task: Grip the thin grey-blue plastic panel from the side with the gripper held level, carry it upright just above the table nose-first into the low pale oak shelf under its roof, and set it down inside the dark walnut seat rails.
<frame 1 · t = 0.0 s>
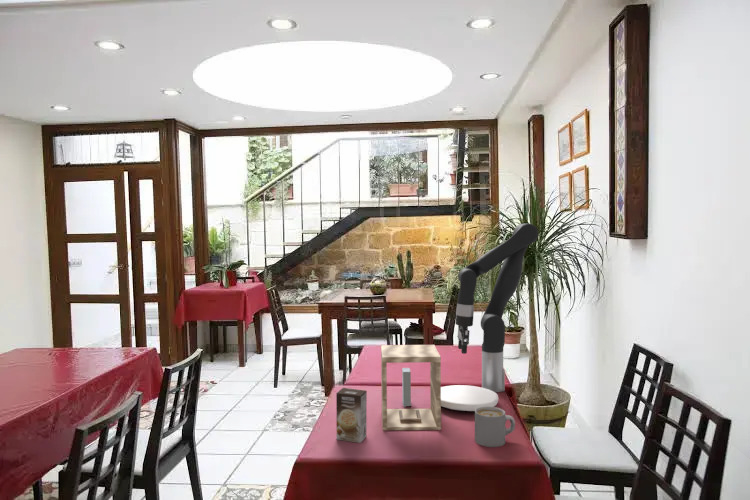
hand: (462, 351, 231), 17 cm above the table, tool pointing down, fingers open, 8 cm apart
shelf: (409, 420, 196), on the table
plate: (464, 405, 213), on the table
panel: (406, 404, 214), on the table
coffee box: (351, 438, 180), on the table
coffee mug: (495, 441, 176), on the table
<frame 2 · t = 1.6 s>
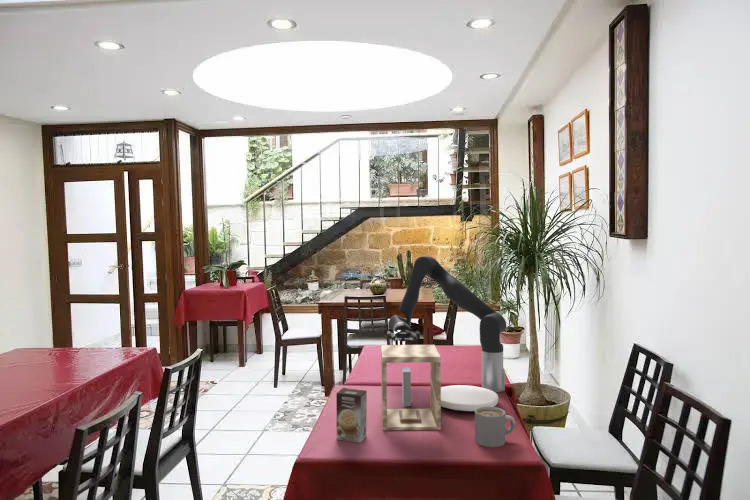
hand: (404, 339, 224), 24 cm above the table, tool horizontal, fingers open, 8 cm apart
nothing on the table moved.
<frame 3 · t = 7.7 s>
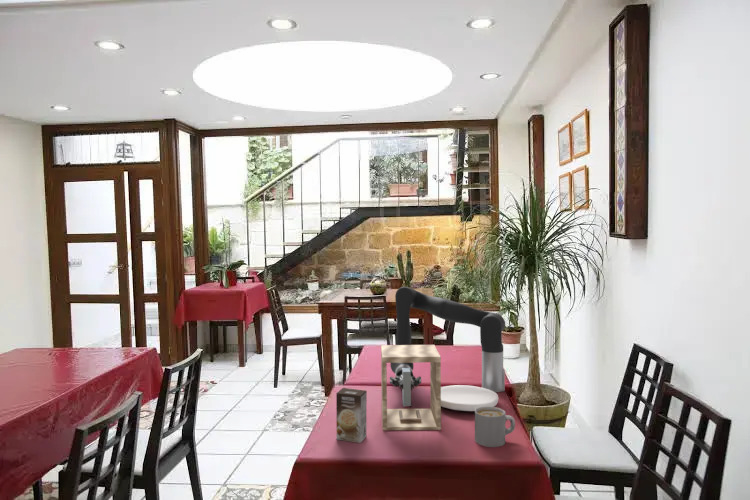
hand: (407, 386, 211), 8 cm above the table, tool horizontal, fingers closed on panel, 3 cm apart
panel: (406, 404, 214), on the table, touching gripper
everything else where it was.
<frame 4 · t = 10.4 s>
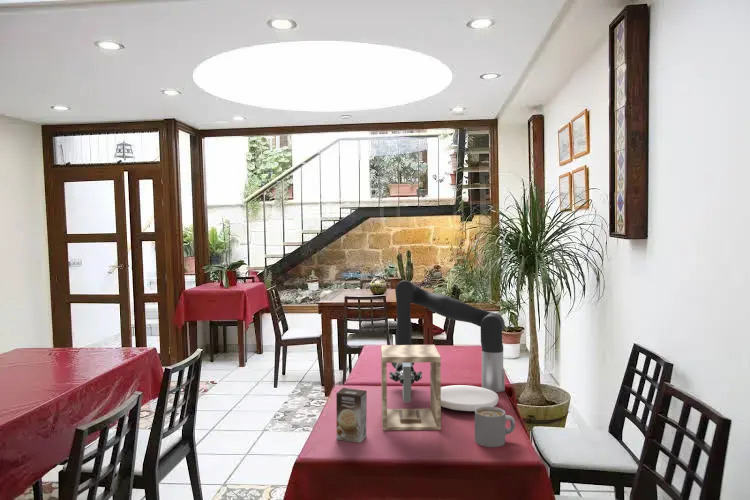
hand: (407, 381, 206), 11 cm above the table, tool horizontal, fingers closed on panel, 3 cm apart
panel: (406, 399, 209), point 3 cm above the table, touching gripper
everything else where it was.
when the fingers open (10 cm above the table, at t = 13.4 s): panel stays where it is, resting on shelf.
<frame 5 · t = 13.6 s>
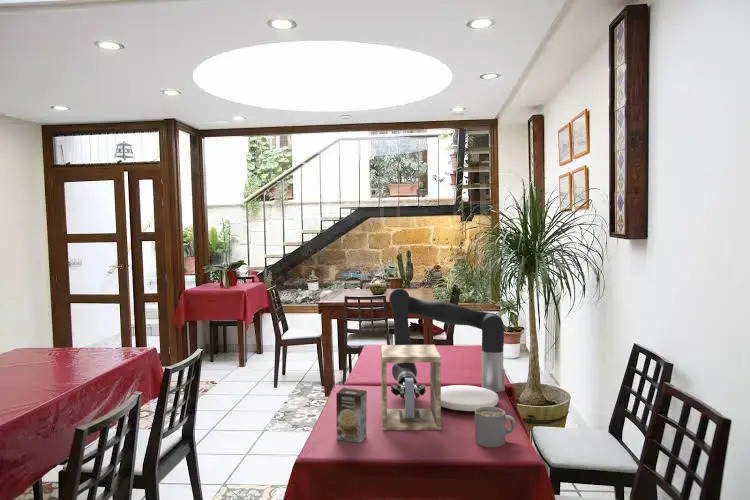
hand: (410, 395, 193), 10 cm above the table, tool horizontal, fingers open, 4 cm apart
panel: (409, 417, 196), point 1 cm above the table, touching shelf
everything else where it was.
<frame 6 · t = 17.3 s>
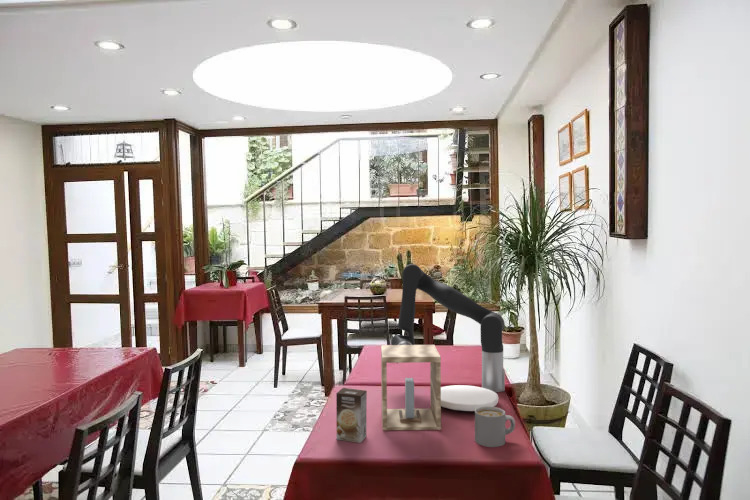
hand: (408, 360, 206), 20 cm above the table, tool horizontal, fingers open, 8 cm apart
nothing on the table moved.
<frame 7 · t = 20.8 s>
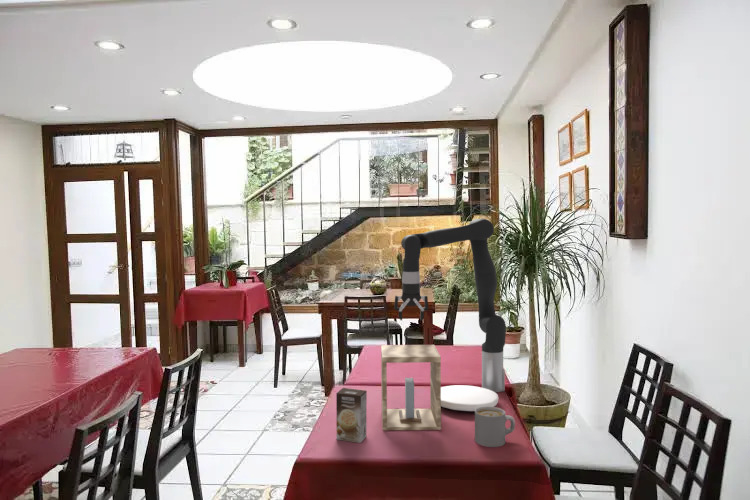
hand: (411, 320, 225), 32 cm above the table, tool pointing down, fingers open, 8 cm apart
nothing on the table moved.
at the end: panel 0.6 cm off-centre on the shelf, point 1.0 cm above the shelf's base; panel tilted 0°; the gripper is holding nothing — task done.
